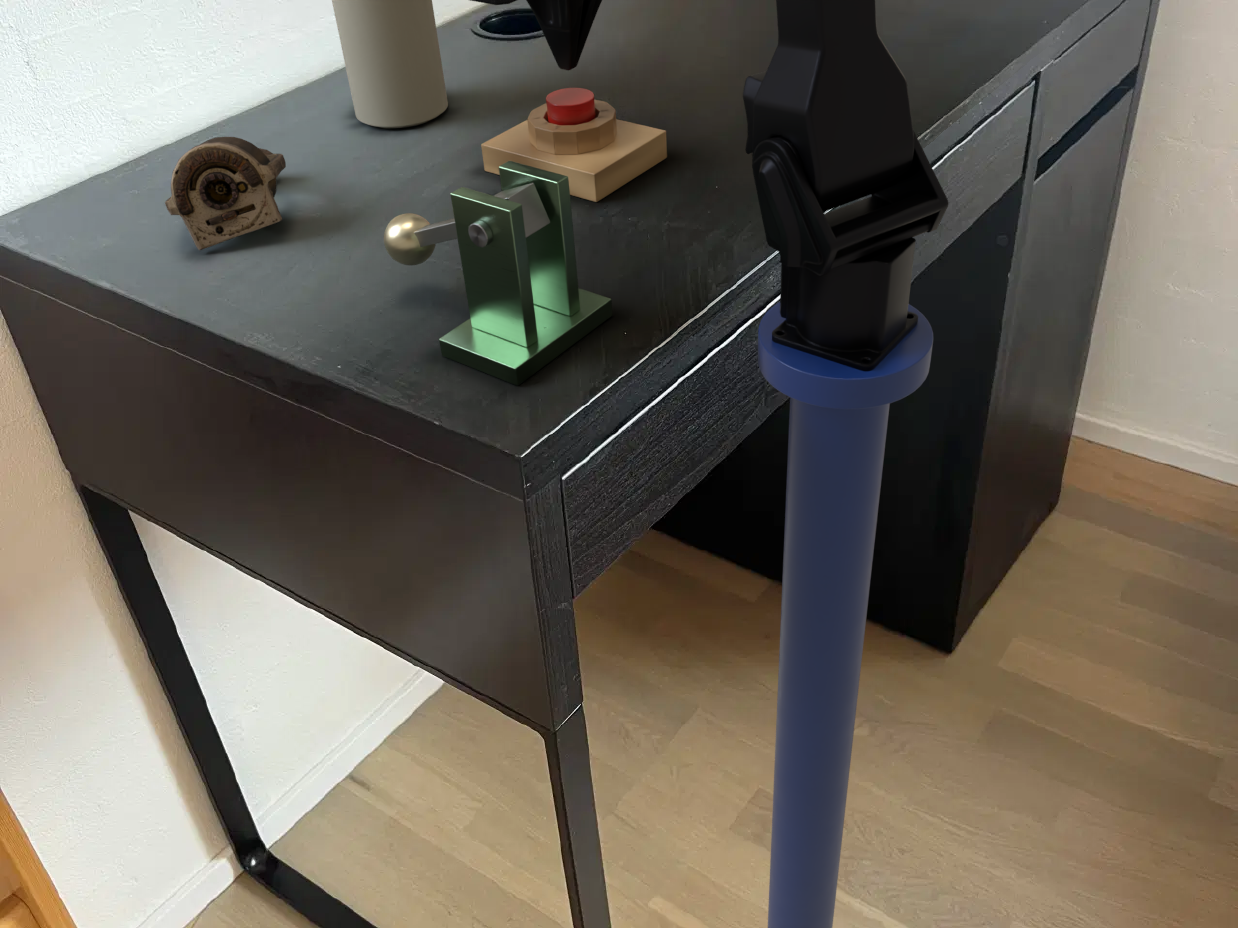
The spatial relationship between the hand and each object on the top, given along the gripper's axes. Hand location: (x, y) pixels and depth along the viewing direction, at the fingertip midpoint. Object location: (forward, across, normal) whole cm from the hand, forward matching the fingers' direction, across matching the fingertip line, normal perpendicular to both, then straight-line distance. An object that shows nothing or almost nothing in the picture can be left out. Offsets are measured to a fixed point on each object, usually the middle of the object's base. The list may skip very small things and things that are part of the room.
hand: (567, 68), depth 84 cm
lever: (+3, +21, +9) cm, 23 cm away
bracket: (+8, +21, +13) cm, 26 cm away
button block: (+8, 0, 0) cm, 8 cm away
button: (+4, 0, 0) cm, 4 cm away
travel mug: (+8, -1, -20) cm, 21 cm away
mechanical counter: (+8, +19, -16) cm, 26 cm away
